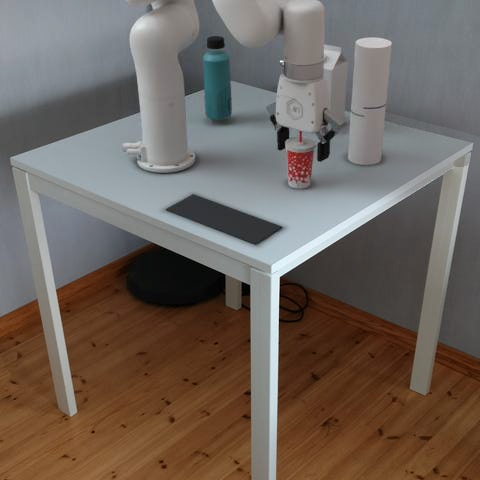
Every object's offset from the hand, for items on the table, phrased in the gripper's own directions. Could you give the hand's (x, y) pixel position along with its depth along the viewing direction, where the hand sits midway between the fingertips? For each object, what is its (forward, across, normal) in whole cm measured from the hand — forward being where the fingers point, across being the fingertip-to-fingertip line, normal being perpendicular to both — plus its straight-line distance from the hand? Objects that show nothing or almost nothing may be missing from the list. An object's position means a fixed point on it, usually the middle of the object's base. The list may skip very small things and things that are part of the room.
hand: (302, 153), depth 159 cm
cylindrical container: (+7, +3, +19) cm, 20 cm away
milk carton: (+7, -14, +29) cm, 33 cm away
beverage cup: (+7, -1, 0) cm, 7 cm away
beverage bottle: (+6, -36, +16) cm, 40 cm away
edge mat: (+6, -3, -21) cm, 23 cm away
